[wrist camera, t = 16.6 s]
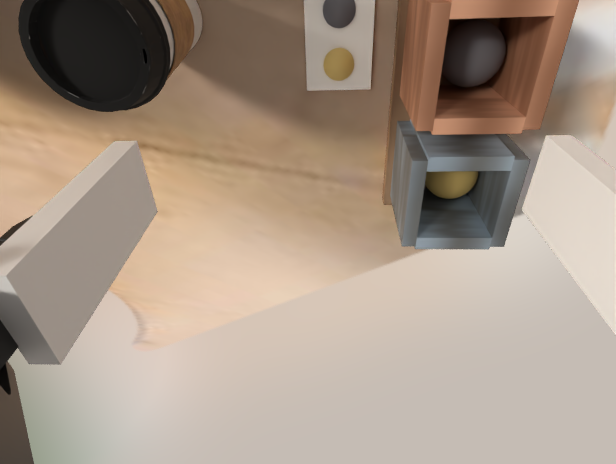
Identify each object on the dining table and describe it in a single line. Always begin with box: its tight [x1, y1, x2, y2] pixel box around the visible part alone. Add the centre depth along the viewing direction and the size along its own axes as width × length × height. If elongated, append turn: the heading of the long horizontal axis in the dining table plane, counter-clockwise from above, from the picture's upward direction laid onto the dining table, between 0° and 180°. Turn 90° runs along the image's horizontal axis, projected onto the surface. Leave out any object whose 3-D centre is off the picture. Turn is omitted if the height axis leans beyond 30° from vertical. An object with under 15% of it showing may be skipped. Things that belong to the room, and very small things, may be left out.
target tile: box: [304, 0, 375, 91], centre depth 35 cm, size 6×9×1 cm, turn 2°
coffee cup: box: [19, 0, 202, 112], centre depth 29 cm, size 8×8×15 cm
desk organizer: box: [382, 0, 579, 249], centre depth 34 cm, size 10×21×10 cm, turn 2°
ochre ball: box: [425, 171, 478, 199], centre depth 38 cm, size 5×5×5 cm
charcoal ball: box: [442, 19, 506, 87], centre depth 32 cm, size 5×5×5 cm
